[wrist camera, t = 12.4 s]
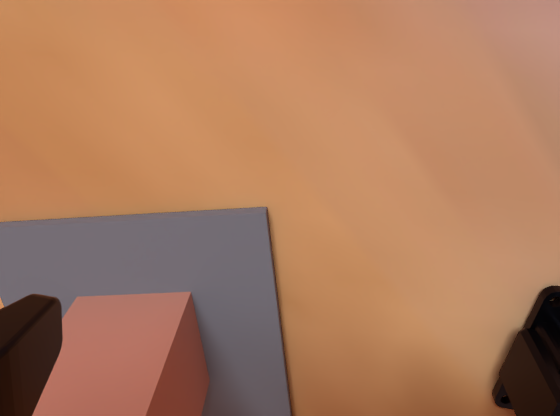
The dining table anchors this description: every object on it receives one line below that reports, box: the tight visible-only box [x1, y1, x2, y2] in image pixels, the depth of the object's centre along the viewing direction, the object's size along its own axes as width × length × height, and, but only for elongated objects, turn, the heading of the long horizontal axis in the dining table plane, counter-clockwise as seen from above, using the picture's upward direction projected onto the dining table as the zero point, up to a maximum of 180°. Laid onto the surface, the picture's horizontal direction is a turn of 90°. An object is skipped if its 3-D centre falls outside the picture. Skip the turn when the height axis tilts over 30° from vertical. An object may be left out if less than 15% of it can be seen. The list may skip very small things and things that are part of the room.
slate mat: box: [0, 207, 292, 416], centre depth 23 cm, size 12×12×1 cm
